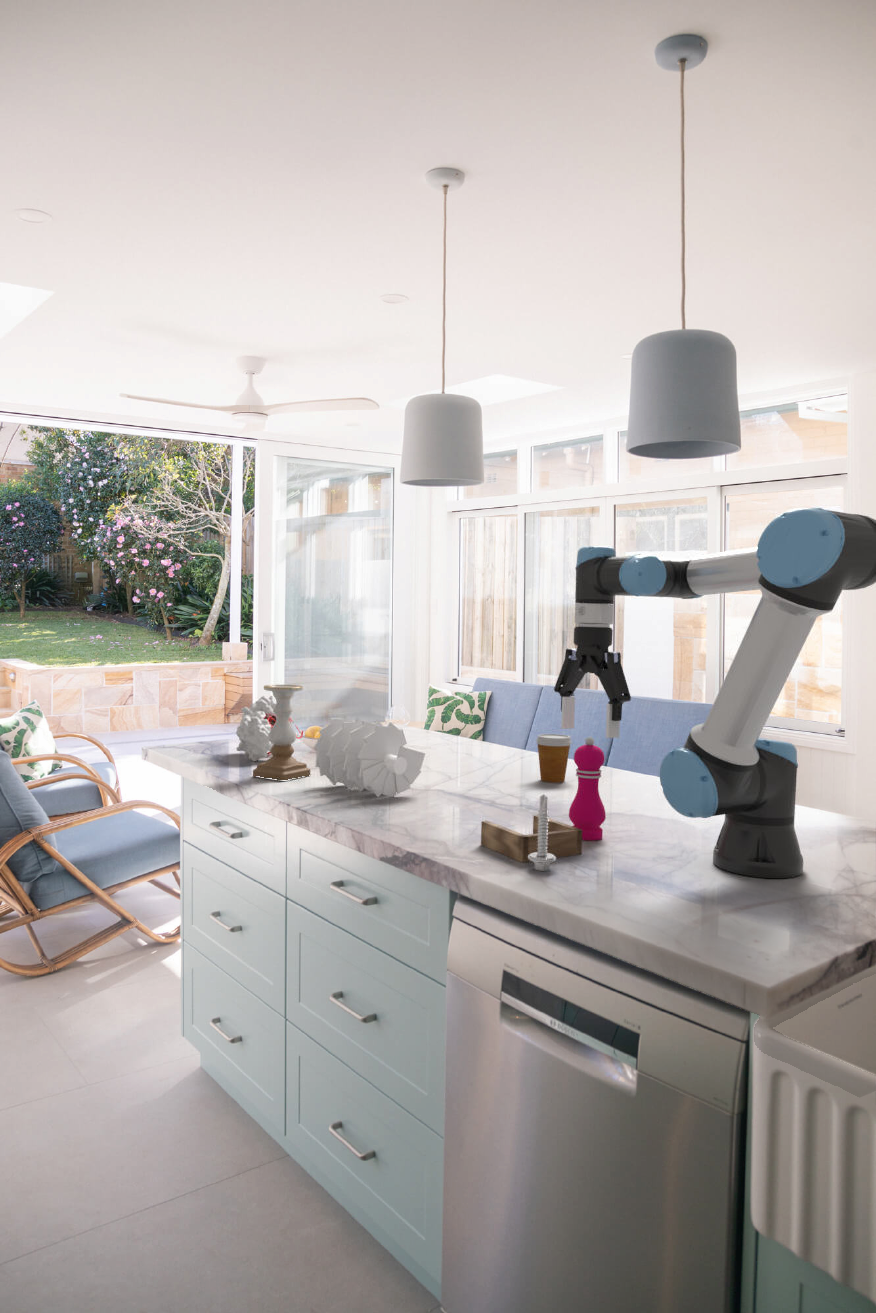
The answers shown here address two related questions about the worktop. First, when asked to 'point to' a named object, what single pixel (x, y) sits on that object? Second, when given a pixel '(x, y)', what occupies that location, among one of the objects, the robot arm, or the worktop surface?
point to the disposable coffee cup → (553, 756)
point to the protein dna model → (257, 728)
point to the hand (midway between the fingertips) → (589, 733)
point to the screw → (542, 840)
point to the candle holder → (282, 739)
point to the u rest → (532, 840)
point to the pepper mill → (588, 792)
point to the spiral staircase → (367, 756)
